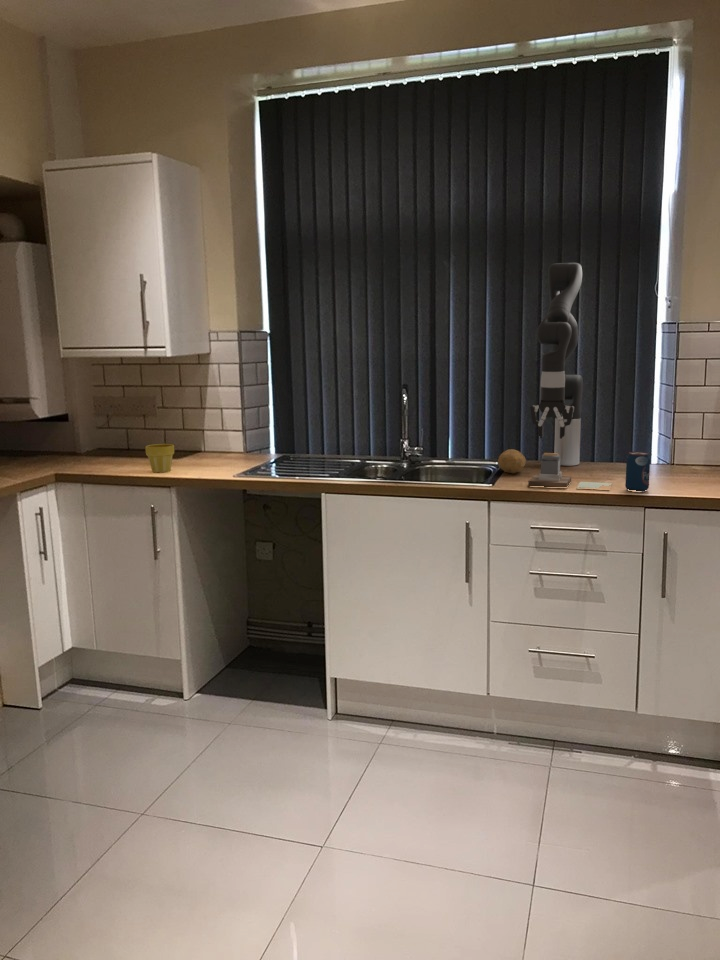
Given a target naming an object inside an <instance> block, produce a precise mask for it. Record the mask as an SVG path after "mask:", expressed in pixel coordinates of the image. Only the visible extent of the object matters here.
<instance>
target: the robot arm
mask: <svg viewBox="0 0 720 960" xmlns="http://www.w3.org/2000/svg"><path fill="white" fill-rule="evenodd" d="M547 273H548V275H547V281H548V283H547V284H548V291H549V293H548V294H549V307H548V309H547V314H546V315H545V317H544V318H543V319H542V320H541V322H540V323H539V325H538V327H537V331H536V339H537V341H538V342H539V344H541V345H546V346H547V345H550V346H551V351H549V352H546V353H544V354H543V355H542V360H541V363H542V364H541V376H540V399H539V400H540V402H539V404H537V405H534V404H533V405H531V406H529V408H530V409H529V410H530V415H531V421H532V424H533V425H535V426H537V427H538V431H537V432H538V435H537V436H538V437H539V438H540V439H543V438H544V429H545V428H544V423H545V421H546V419H547V418H555V419H554V445H553V446H554V451H553V452H554V453H558V455H560V466H565V467H566V466H570V467H571V466H578V465H580V454H581V422H582V418H581V417H582V400H583V399H582V398H583V388H584V387H583V386H584V381H583V377H582V375H580V374H566V373H565V366H566V365H565V364H566V362H567V360H568V359H569V357H571V355H572V354H573V352H574V351H575V349H576V348H577V345H578V343H579V342H578V341H579V330H578V329H579V327H578V326H579V325H578V322H577V321H576V319H575V317H574V316H573V314H572V313H571V310H572V306H573V304H574V302H575V299H576V298H577V296H578V293H579V291H580V289H581V286H582V282H583V269H582V265H581V264H580V263H578V262H557V263H552V264H550V265H549V267H548V272H547ZM560 291H561V292H560ZM565 400H566V401H567V400H568V401H570V400H571V401H572V402H571V404H569V405H567V404H566V403H565ZM539 410H540V412H541V414H542V415H541V417H540V419H539V420H538V417H537V416H538V415H537V412H538V411H539Z"/></svg>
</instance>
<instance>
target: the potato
mask: <svg viewBox="0 0 720 960" xmlns="http://www.w3.org/2000/svg"><path fill="white" fill-rule="evenodd" d="M526 462H527V459H526V457H525V455H523V453H521V451H519V450H518V449H517V450H516V449H513V448H511V449H506V450H504V451H503V452H502V453H501V454H499V457H498V459H497V463H498V466H499V469H501V470H502V471H504V472H505V473H506V472H507V474H508V473H509V474H516V473H518V472H521V471H522V470H523V469H524V467H525V466H526Z"/></svg>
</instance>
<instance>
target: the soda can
mask: <svg viewBox="0 0 720 960" xmlns="http://www.w3.org/2000/svg"><path fill="white" fill-rule="evenodd" d="M625 464H626V466H625V467H626V468H625V484H624V485H625V488H626V490H627V489H629V490H636V491H645V490H648V489H649V488H650V487H649V486H650V472H651V471H650V470H651V458H650V456H649V452H647V451H629V452H628V455H627V457H626V462H625Z"/></svg>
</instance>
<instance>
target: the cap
mask: <svg viewBox="0 0 720 960" xmlns="http://www.w3.org/2000/svg"><path fill="white" fill-rule="evenodd" d="M540 472H541V474H555V475H558V474H559V472H561V465H560V455H558V453H553V452H552V453H551V452H544V453H543V454H541V461H540Z"/></svg>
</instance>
